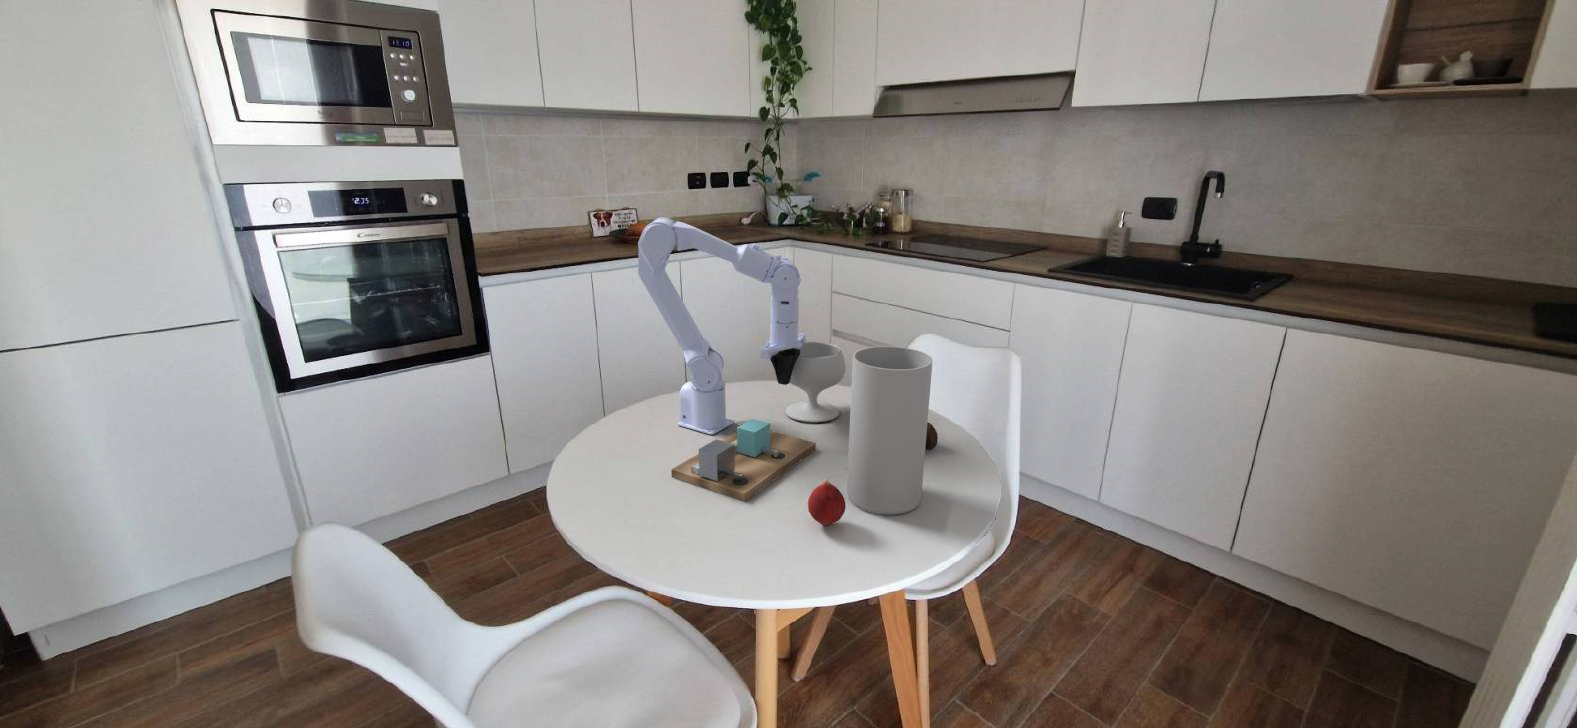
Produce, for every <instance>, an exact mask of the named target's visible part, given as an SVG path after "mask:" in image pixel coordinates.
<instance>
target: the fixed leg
mask: <svg viewBox="0 0 1577 728" xmlns="http://www.w3.org/2000/svg"><path fill="white" fill-rule="evenodd" d="M698 454H699V475H700V476H703V477H706V478H709V479H712V480H715V481H719V480H721V479H722V478H724V477H725V476H727V475H728V476H731V477H734V478H737V479H738V481H742V479H743V478H744V475H743V474H742V473H737V472H733V471H734V470H735V445H734V444H731V443H728V442H724V441H722V440H720V439H717V438H716V439H714V440H712V441H711V442H709V443H707V444H706V445H703V446H702V447H700V448H699V449H698Z"/></svg>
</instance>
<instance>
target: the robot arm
mask: <svg viewBox="0 0 1577 728" xmlns="http://www.w3.org/2000/svg"><path fill="white" fill-rule="evenodd" d="M637 245H638V247H637V248H638V260H637V261H638V262H637V263H638V264H637V274H638V276H639V279H640V280H641V281H642V284H643V285H644V287H645V288H646V290H647V292H648V294H649V296H650V297H651V299H652V301H653V302H654V304H655V306H656V307H657V310H659V313H660V314H661V316H662V318H663V320H664V321H665V323H666V324H667V327H668V328H669V330H670V332H671V333H672V335H673V336H674V337H673V338H675V340H676V342H677V344H678V345H679V347H680V348H681V350H682V353H683V356H684V360H685V364H686V366H687V367H688V370H689V373H690V374H689V375H690V376H689V378H690V381H687V382H686V383H683V385H682V386H681V389H680V391H679V396H678V400H679V401H678V404H679V405H678V406H679V421H678V422H677V425H678V426H679V427H683V428H686V429H690V430H694V431H697V432H699V433H704V434H706V435H707V434H708V435H711V436H712V435H716V433H718V432H720V431H722V430H724V429H725V428H728V427H729V426H731V425H733V424H735V420H733V419H730V418H726V417H727V416H726V415H727V413H726V412H727V411H726V409H727V408H726V403H727V402H726V382H725V380H723V377H722V375H723V374H722V373H723V369H724V365H725V364H724V363H725V362H724V358H723V357H722V354H721V353H720V352H718V351H717V350H716V349H714V348H713V347H712V346H711V344H710V342H709V341H708V340H707V339H706V338H705V337H703V335H702V333H701V331H700V329H699V327H698V325H697V324H696V323H695V320H694V319H693V317H692V316H691V314H690V311H689V310H688V308H687V307H686V305H685V303H684V301H683V299H682V297H681V296H680V294H679V292H678V291H677V288H676V287H675V286H674V283H673V281H672V280H671V278H670V276H669V275H668V273H667V272H666V268H667V265H668V262H669V258H670V255H671V253H672V251H673V250H674V249H675V247H676V246H677V251H679V252H681V251H684V250H689V249H690V250H691V249H695V250H698V251H701V252H703V253H705V254H709V255H711V256H714V257H717V258H719V259H721V260H725V261H727V262H730V263H732V265H733V267H734V270H735V271H736V272H737V273H739V274H742V275H744V276H747V277H749V278H752V279H753V280H756V281H759V282H761V283H763V284H767V283H768V284H770V286H771V296H770V297H769V298H770V299H769V301H770V302H769V303H770V307H769V308H770V309H769V312H770V313H769V315H770V317H769V318H770V320H769V322H770V323H769V333H770V334H769V340H768V342H767V343H766V344H765V345H764V346H763V347H761V348H760V349H759V353H760V354H759V355H760V359H763V360H764V359H765V360H770V362H771V364H772V366H773V370H774V373H775V376H776V381H777V383H778V384H780V385H783V386H787V385H789V384H790V379H791V375H792V371H793V368H794V365H795V363H796V361H797V359H798V357H799V355H800V350H799V349H794V348H800V347H802V344H804V343H806V342H807V334H806V333H800V332H799V308H800V306H799V303H800V299H799V297H798V295H799V286H800V284H801V280H802V279H801V276H800V272H799V270H798V269H799V268H798V267H797V265H796V264H795V263H794V262H793V261H791V260H789V258H787V257H784V258H783V257H782V256H781V255H780V254H776V255H773V254H771V253H769V252H766V251H764V250H762V249H760V245H758V244H756V243H752V245H750V244H747V243H746V244H743V245H740V246H736V245H735V244H734V245H733V244H732V243H730V242H728V241H725V240H723V239H722V238H719V237H716V236H714V235H712V234H711V233H709V232H706V231H703V230H702V229H700V228H698V227H697V226H696V227H695V226H693V225H690V224H687V223H686V222H685V223H684V222H682V221H678V220H677V221H675V220H674V219H672V218H670V217H665V216H664V217H663V216H662V217H658V218H656V219H654V220H653V221H651V223H649V224H647V225H646V226H645V227H644V229H643V231H642V232H641V234H640V237H639V240H638V242H637Z"/></svg>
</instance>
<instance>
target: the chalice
mask: <svg viewBox="0 0 1577 728" xmlns="http://www.w3.org/2000/svg"><path fill="white" fill-rule="evenodd" d="M794 349H799V350H800V355H799V357H798V359H797V361H796V363H795V365H794V368H793V371H792V375H791V379H790V382H789V384H791V385H792V386H794V387H797V388H799V389H801V390H802V391H804V392H805V393H806V395H807V396H808V401H799V402H798V401H797V402H796V403H792V404H790V405H789V406H787V407H786V408H785V412H784V413H785V414H786V416H787V417H789V418H790V419H792V420H795V421H798V422H802V423H803V422H804V423H824V422H825V423H826V422H829V421H832V420H835V419H836V418H838V417H839V416H840V410H839V408H837V407H836V406H835V405H832V404H830V403H828V402H823V401H818V400H817V399H818V396H819V394H820V393H822V392H823V391H824V390H827V389H829V388H831V387H834V386H835V385H837V384H839V383H840V382H841V381H842V380H843V379H844V377H845V374H846V362H845V361H846V360H845V356H844V354H843V352H842V349H841V348H840V347H839V346H837V345H835V344H833V343H829V342H821V341H806V343H804V344H802V347H800V348H794Z"/></svg>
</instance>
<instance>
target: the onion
mask: <svg viewBox="0 0 1577 728" xmlns="http://www.w3.org/2000/svg"><path fill="white" fill-rule="evenodd" d="M807 508H808V513H809V515H810V516H811V517H812V519H813V520H815V522H817V523H818V524H819V525H821V526H823V527H828V526H832V525H833V524H836V523H837V522H839V521H840V520H841V519H842V517H843V516H844V513H845V511H846V499H845V497H844V495H843V493H842V492H841V491H840V490H839V488H838V487H837V486H835V485H834V484H832V483H831V482H830V480H829V479H827V478H824V479H823V481H822V484H819V485H818V486H816V487H815V488H814V489H813V490H812V491H811V493H810V495H809V497H808V500H807Z"/></svg>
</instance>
